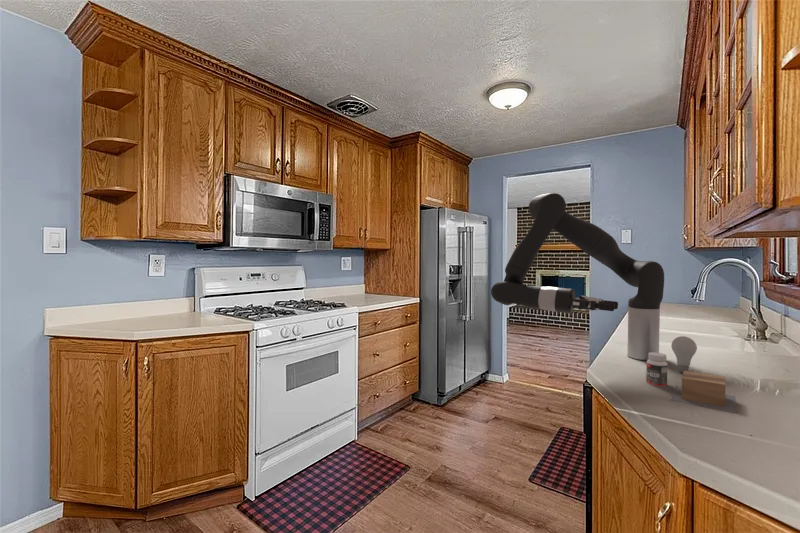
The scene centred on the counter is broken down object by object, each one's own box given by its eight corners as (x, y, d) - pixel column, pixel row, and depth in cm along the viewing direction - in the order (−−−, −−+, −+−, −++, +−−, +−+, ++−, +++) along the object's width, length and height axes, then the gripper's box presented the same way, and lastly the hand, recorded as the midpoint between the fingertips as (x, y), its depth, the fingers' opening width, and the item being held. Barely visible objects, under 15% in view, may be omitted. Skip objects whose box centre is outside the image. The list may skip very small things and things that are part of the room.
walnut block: (683, 390, 100) (683, 370, 99) (724, 397, 95) (724, 376, 94) (681, 398, 93) (681, 377, 93) (725, 406, 88) (725, 384, 88)
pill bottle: (642, 383, 106) (642, 352, 106) (653, 381, 108) (654, 351, 108) (659, 388, 102) (660, 356, 102) (671, 386, 104) (671, 355, 103)
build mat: (674, 387, 103) (674, 385, 103) (734, 397, 96) (734, 395, 96) (670, 401, 92) (670, 400, 92) (737, 414, 85) (737, 413, 85)
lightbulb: (665, 371, 118) (666, 335, 117) (680, 369, 120) (681, 334, 119) (686, 377, 112) (687, 339, 112) (701, 375, 114) (702, 337, 114)
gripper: (551, 287, 114) (614, 294, 105) (562, 286, 126) (620, 292, 117) (549, 313, 114) (612, 321, 105) (560, 309, 126) (617, 317, 117)
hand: (616, 306), depth 111 cm, fingers open, 8 cm apart
